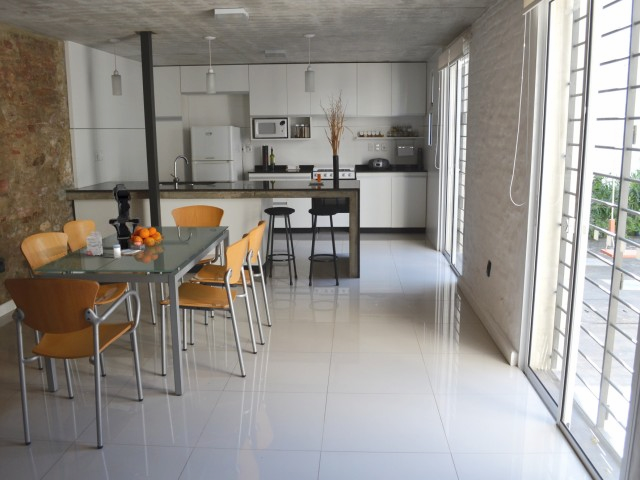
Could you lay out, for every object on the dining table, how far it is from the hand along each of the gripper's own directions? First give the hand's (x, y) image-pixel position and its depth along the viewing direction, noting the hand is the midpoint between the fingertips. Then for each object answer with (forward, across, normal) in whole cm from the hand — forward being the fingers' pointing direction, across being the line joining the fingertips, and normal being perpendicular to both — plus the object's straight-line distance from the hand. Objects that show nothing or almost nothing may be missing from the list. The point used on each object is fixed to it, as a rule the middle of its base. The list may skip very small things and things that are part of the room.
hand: (126, 234), depth 377 cm
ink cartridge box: (+14, -23, +7) cm, 28 cm away
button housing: (+13, +1, +19) cm, 23 cm away
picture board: (+14, -2, +8) cm, 16 cm away
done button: (+11, +1, +19) cm, 22 cm away
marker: (+14, -5, -4) cm, 15 cm away
